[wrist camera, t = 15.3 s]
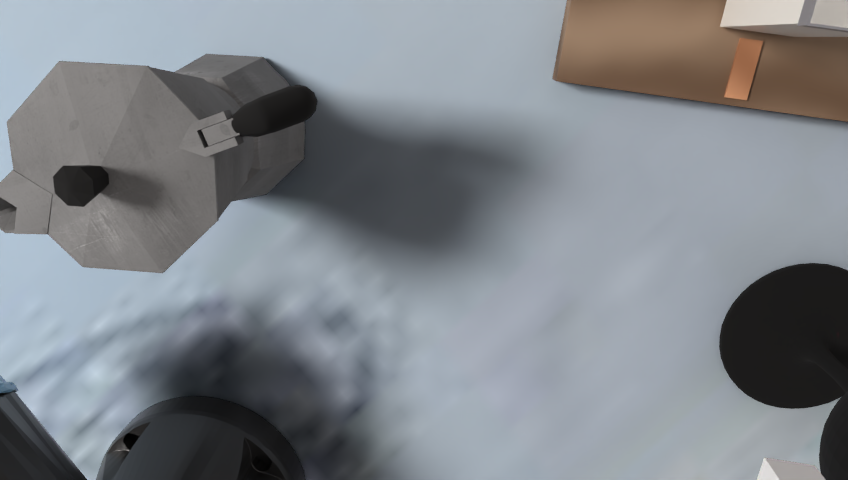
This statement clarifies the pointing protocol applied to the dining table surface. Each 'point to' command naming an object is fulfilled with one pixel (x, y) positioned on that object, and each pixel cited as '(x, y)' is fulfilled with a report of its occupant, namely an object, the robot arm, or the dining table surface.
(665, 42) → the brown flat wooden board
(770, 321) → the wine glass
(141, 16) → the dining table surface
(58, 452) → the robot arm
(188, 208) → the coffeepot
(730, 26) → the fader
